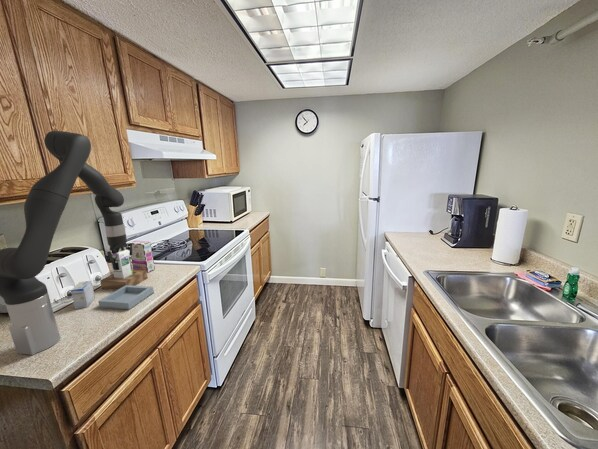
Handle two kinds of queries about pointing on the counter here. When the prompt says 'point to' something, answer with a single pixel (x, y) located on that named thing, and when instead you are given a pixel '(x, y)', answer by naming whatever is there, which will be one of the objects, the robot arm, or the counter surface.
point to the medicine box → (82, 294)
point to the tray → (126, 297)
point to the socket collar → (123, 280)
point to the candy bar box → (142, 256)
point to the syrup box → (123, 265)
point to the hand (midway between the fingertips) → (122, 267)
